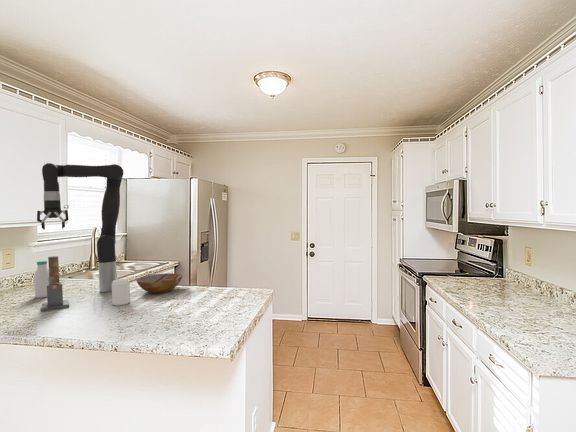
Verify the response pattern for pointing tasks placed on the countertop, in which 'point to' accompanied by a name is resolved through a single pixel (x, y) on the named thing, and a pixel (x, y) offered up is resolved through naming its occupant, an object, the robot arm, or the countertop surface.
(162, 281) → the bowl
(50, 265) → the walnut post
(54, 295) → the stand sleeve
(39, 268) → the milk bottle
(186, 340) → the countertop surface
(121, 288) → the white upright block
